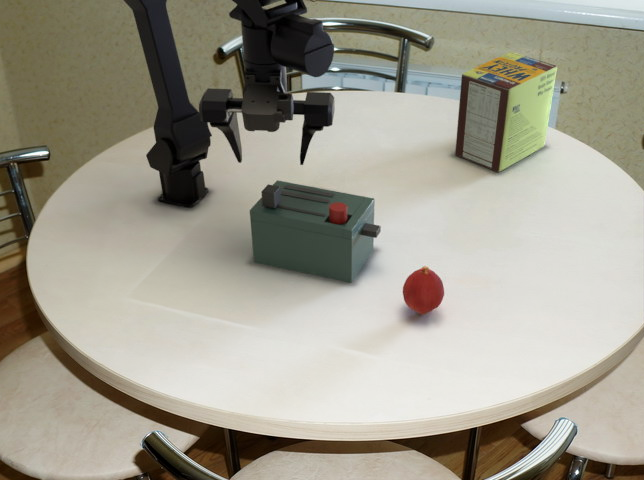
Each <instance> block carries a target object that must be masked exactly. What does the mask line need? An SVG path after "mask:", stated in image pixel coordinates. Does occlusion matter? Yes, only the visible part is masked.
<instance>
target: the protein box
mask: <svg viewBox="0 0 644 480" xmlns="http://www.w3.org/2000/svg"><path fill="white" fill-rule="evenodd" d="M557 71H558V66H557V65H556V64H552V63H549V62H545V61H542V60H539V59H535V58H532V57H529V56H526V55H523V54H519V53H517V52H514V51H508V52H507V53H505V54H502V55H500V56H498V57H496V58H494V59H491V60H489V61H487V62H484V63H481V65H478V66H476V67H473V68H471V69H469V70H467V71H465V72H463V73H462V74H461V79H460V80H461V81H460V92H459V94H460V95H459V104H458V116H457V128H456V139H455V152H454V156H456V157H459V158H461V159H464V160H467V161H468V162H469V161H470V162H472V163H475V164H476V165H480V166H482V167H485V168H486V169H490V170H491V171H495V172H497V173H500V172H502V171H503V170H505V169H507V168H509V167H511V166H513V165H514V164H516V163H518V162H520V161H522V160H523V159H524V158H526V157H528V156H530V155H532V154H533V153H534V152H537V151H539V150H540V149H542V148H543V147H545V145H546V140H547V139H546V138H547V132H548V125H549V119H550V114H551V107H552V101H553V95H554V88H555V82H556V75H557Z"/></svg>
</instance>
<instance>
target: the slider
mask: <svg viewBox="0 0 644 480" xmlns="http://www.w3.org/2000/svg"><path fill="white" fill-rule="evenodd" d="M260 194H261V197H262V206H264V207H270V208H276V206H277V205H278V204H279V203H280V202H281V189H280V186H274V185H273V184H269V183H267V185H266V186H265V187H264V188H263V189H262V190H261V193H260Z"/></svg>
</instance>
